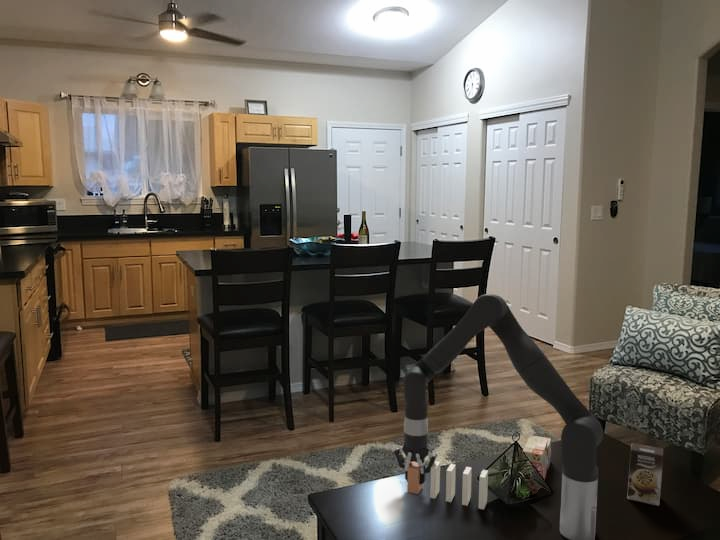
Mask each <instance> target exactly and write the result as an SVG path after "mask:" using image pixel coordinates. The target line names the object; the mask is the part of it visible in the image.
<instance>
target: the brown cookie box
mask: <svg viewBox="0 0 720 540" xmlns="http://www.w3.org/2000/svg"><path fill="white" fill-rule="evenodd" d="M664 451H665V450H664V448H663V447H662V448H661V447H658V446H657V447H656V446H652V445H646V444H640V443H634V442H632V443H631V445H630V457H629V468H628V481H627V482H628V483H627V496H626V498H627V500H631V501H636V502H640V503H645V504H648V505H653V506H657V507H660V499H661V491H662V490H661V489H662V488H661V487H662V478H663V477H662V475H663V463H664Z"/></svg>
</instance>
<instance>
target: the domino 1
mask: <svg viewBox="0 0 720 540" xmlns="http://www.w3.org/2000/svg"><path fill="white" fill-rule="evenodd" d="M423 488H424V483H423V484H422V485H421V484H420V468H419V466H418V463H417V462H412V463H411V464H410V466H409V467H408V482H407V489H406V491H407V493H410V494H417V495H419V494H420V492H421V491H422V489H423Z"/></svg>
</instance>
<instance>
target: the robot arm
mask: <svg viewBox="0 0 720 540" xmlns="http://www.w3.org/2000/svg"><path fill="white" fill-rule="evenodd" d="M488 327H489V328H490V329H491V331H492V332H493V333H494V334H495V335H496V337H498V339H499V340H500V341H501V343H502V345H503V347H504V349H505V350H506V353H507V356H508V357H509V360H510V362H511V364H512V366H513V368H514V369H515V371H516V373H518V375H519V377H520V378H521V379H522V380H523V382H524V383H525V384H526V386H527V387H528V388H529V389H530V390H531V391H532V392H533V393H535V394H536V395H537V396H539V397H540V398H541V399H543V400H545V401H546V402H547V403H548V404H549V405H551V406H552V408H554V409H555V411H556V412H557V413H558V414H559V416H560V417H561V419H562V420H563V422H564V423H565V424H564V426H563V428H562V430H561V435H560V463H561V464H560V465H561V467H562V470H561V471H562V472H561V473H562V474H561V494H560V513H559V532H560V534H561V535H562V536H563V537H564V538H565V539H568V540H596V538H595V537H596V523H597V506H598V503H597V502H598V486H599V485H598V483H599V467H598V465H597V464H596V462H597V461H596V460H597V448H598V446H599V445H600V444H601V443H602V441H603V438H604V429H603V426H602V424H601V422H600V421H599V420H598V418H596V416H595V415H594V414H593V413H592V412H591V411H590V410H589V408H587V406H586V405H585V404H584V403H583V402H582V401H581V400H580V399H579V398H578V397H577V396H576V394H575V393H574V391H572V389H571V388H570V387H569V385H568V384H567V382H566V381H565V380H564V379H563V376H561V374H560V373H559V372H558V371H557V368H556V367H555V366H554V365H553V364H552V362H551V361H550V359H549V358H548V357H547V356H546V354H545V353H544V352H543V351H542V350H541V348H540V347H539V346H538V344H537V343H536V342H535V341H534V340H533V338H531V336H530V335H529V334H528V333H527V332H526V331H525V330H524V329H523V328H522V326H521V325H520V322H518V320H517V318H516V316H515V315H514V314H513V312H512V310H511V309H510V307H509V305H508V303H507V302H506V301H505V299H504V298H503V297H501V296H499V295H498V294H491V293H486V294H481V295H480V296H478V297H477V298H476V299H475V300H474V302H473V303H472V304H471V306H470V308H469V309H468V310H467V311H466V313H465V314H464V316H462V317H461V319H460V320H459V321H458V322H457V324H456V325H455V326H454V327H453V328H452V329H451V330H450V331H449V332H448V333H447V334H446V335H444V337H443V338H442V339H440V340H439V341H438V342H437V343H436V344H435V345H434V346H433V347H432V348H430V350H428V352H427V353H426V354H425V355H424V356H423V357H422V358H420V359H419V360H418V361H417V362H416V363H414V365H412V366H411V367H410V368H409V370H408V371H407V373H406V374H405V375H404V378H403V393H404V394H403V395H404V400H405V403H404V421H403V446H402V447H400V446H398V447H397V448H396V449H395V450H394V455H395V457H396V461H397V464H398V466H399V469H403V470H404V479H405V481H406V483H408V467H409V466H410V464H411V463H412V462H417V463H418V466H419V468H420V484H421V485H422V484H423V485H424V484H425V482H426V478H427V475H426V474H429V473H431V467H432V465H433V464H434V462H435V461H437V460H436V459H437V458H438V454H437V453H432V452H430V450H429V447H428V446H429V420H428V413H429V412H428V410H429V409H428V401H427V393H426V392H427V385H428V383H429V382H430V381H431V380H432V379H433V378H434V377H435V376H437V375H438V373H441V372H442V371H445V369H446V368H447V367H449V365H450V364H452V363H453V361H454V360H456V359H457V357H459V355H461V353H462V352H463V351H464V349H465V348H466V347H467V345H468V344H469V343H470V342H471V341H472V340H473V339H474V338H475V337H476V336H477V335H479V333H481V332H482V331H484V330H485V329H487V328H488ZM403 454H404V455H405V457H406V460H405V458H404V456H403ZM427 457H428V461H429V462H428V465H427V466H426V458H427Z"/></svg>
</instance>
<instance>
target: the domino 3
mask: <svg viewBox="0 0 720 540" xmlns="http://www.w3.org/2000/svg"><path fill="white" fill-rule="evenodd" d="M456 465H457V464H455V463H450V464H449V466H448V467H447V469H446V475H445V478H446V482H445V502H449V503H452V501H453V499H454V497H455V495H456V474H457V473H456V471H457V470H456V469H457V467H456Z"/></svg>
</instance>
